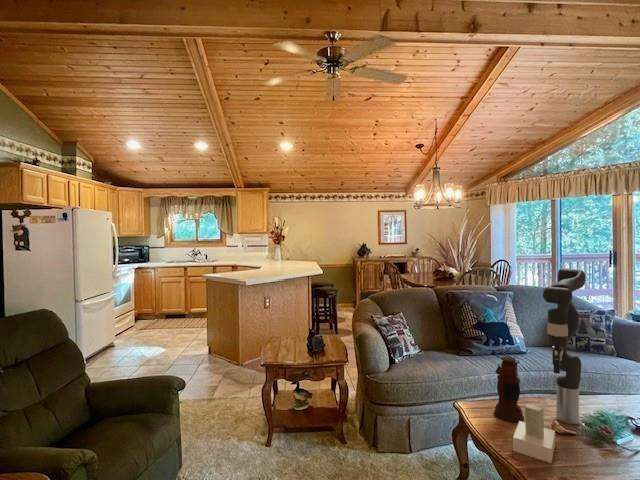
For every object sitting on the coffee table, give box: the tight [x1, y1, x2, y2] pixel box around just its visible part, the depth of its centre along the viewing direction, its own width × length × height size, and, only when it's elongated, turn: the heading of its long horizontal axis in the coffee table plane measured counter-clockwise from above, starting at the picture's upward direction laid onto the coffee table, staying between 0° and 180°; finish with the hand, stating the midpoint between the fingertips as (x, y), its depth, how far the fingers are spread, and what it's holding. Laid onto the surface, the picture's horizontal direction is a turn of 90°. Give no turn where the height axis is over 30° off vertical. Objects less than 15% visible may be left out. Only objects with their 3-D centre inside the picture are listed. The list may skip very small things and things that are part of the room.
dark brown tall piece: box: [493, 356, 525, 424], centre depth 182 cm, size 17×14×30 cm
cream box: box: [512, 421, 556, 464], centre depth 157 cm, size 16×14×6 cm
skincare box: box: [524, 403, 545, 439], centre depth 156 cm, size 6×4×12 cm
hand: (557, 369), depth 156 cm, fingers open, 8 cm apart
